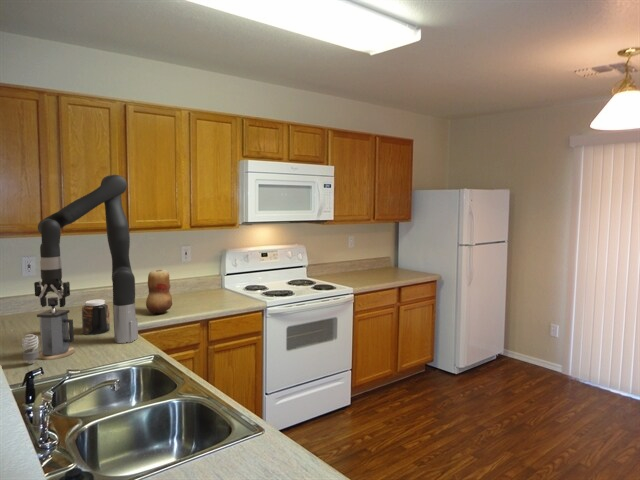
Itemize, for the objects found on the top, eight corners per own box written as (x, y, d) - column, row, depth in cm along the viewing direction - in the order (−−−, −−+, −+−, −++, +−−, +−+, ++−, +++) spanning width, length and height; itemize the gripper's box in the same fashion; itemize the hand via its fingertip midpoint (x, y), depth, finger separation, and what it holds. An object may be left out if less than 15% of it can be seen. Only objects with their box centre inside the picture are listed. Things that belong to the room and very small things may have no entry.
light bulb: (19, 365, 178) (17, 335, 177) (33, 360, 183) (31, 331, 182) (29, 367, 176) (27, 337, 175) (43, 362, 181) (41, 333, 180)
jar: (95, 336, 215) (94, 305, 214) (77, 333, 219) (75, 302, 218) (115, 329, 226) (113, 299, 225) (96, 326, 230) (95, 297, 229)
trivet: (81, 348, 197) (81, 347, 197) (60, 360, 184) (60, 358, 184) (50, 347, 199) (50, 346, 198) (27, 359, 185) (27, 357, 185)
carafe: (80, 348, 195) (78, 309, 194) (66, 356, 186) (64, 315, 184) (52, 347, 196) (50, 309, 194) (36, 355, 187) (34, 315, 185)
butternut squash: (149, 317, 248) (148, 272, 246) (144, 312, 259) (142, 268, 257) (175, 314, 256) (174, 270, 253) (169, 309, 267) (167, 266, 264)
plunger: (68, 342, 194) (65, 296, 192) (57, 348, 187) (55, 300, 185) (52, 342, 194) (50, 296, 192) (41, 347, 188) (39, 299, 186)
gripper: (73, 266, 191) (75, 304, 192) (40, 265, 192) (42, 304, 193) (61, 269, 183) (63, 309, 185) (28, 268, 184) (30, 308, 186)
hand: (53, 306), depth 189 cm, fingers open, 7 cm apart
